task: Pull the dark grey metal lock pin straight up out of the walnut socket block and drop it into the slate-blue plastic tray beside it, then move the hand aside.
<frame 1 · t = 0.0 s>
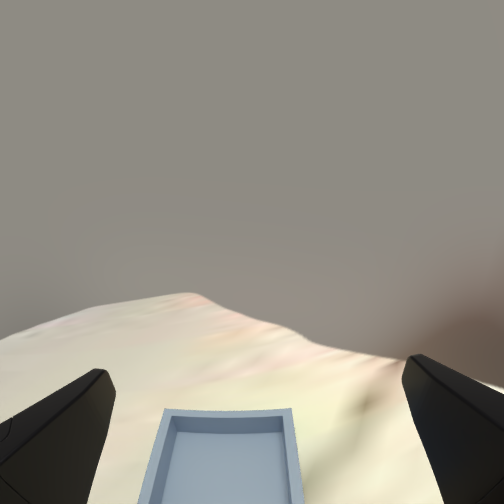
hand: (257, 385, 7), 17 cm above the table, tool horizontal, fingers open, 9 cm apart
tray: (226, 488, 17), on the table
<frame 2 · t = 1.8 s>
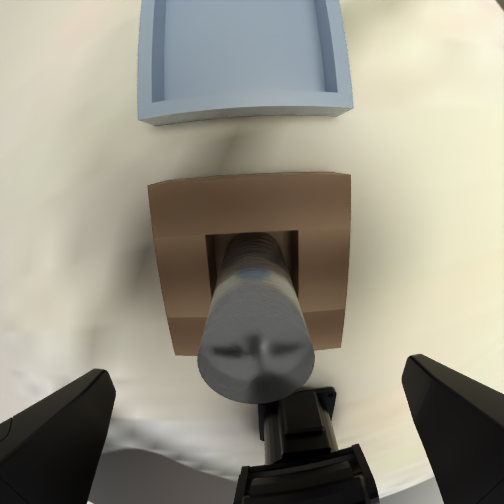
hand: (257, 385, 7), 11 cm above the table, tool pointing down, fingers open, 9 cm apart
socket block: (253, 255, 18), on the table
tray: (241, 24, 14), on the table
lock pin: (253, 258, 18), point 1 cm above the table, touching socket block
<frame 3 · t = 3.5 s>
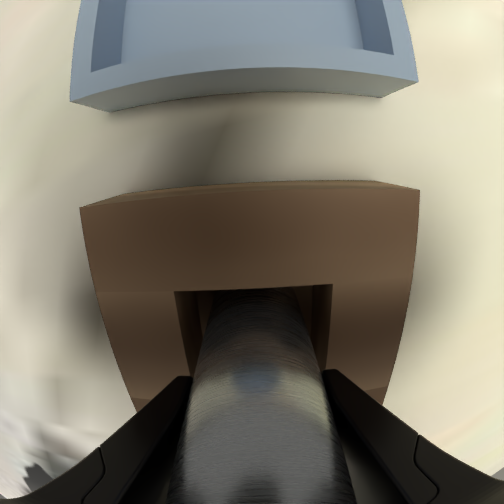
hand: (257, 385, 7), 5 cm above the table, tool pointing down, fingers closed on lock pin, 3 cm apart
socket block: (255, 304, 12), on the table
lock pin: (255, 310, 12), point 1 cm above the table, touching gripper, socket block
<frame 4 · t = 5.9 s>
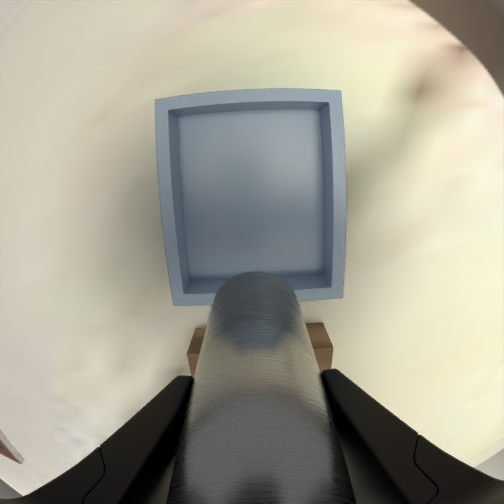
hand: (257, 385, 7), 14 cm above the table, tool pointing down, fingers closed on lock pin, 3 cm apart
socket block: (261, 375, 24), on the table
tray: (253, 194, 19), on the table
lock pin: (255, 311, 12), point 9 cm above the table, touching gripper
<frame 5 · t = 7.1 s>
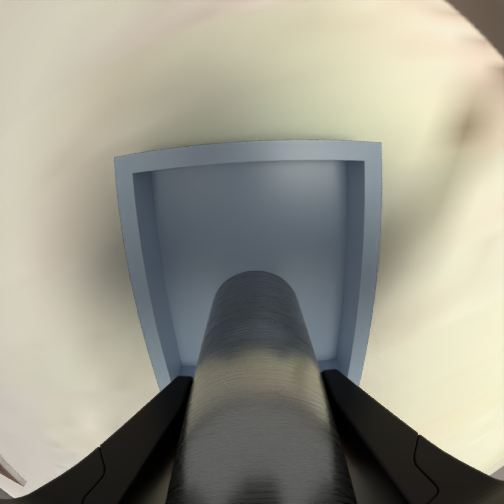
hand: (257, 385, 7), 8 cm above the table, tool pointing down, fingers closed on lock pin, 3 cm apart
tray: (254, 273, 15), on the table
lock pin: (255, 311, 12), point 4 cm above the table, touching gripper
when the fingers open (6 cm above the table, at t = 8.1 s): lock pin drops 1 cm, resting on tray.
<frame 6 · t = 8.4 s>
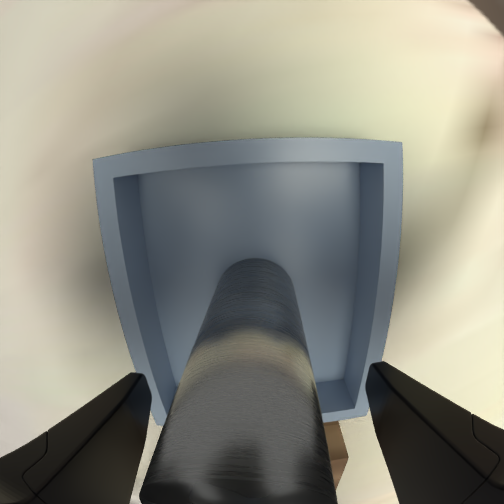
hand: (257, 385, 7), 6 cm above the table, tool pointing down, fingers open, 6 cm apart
socket block: (264, 461, 18), on the table
tray: (254, 289, 14), on the table
lock pin: (255, 295, 13), point 1 cm above the table, touching tray
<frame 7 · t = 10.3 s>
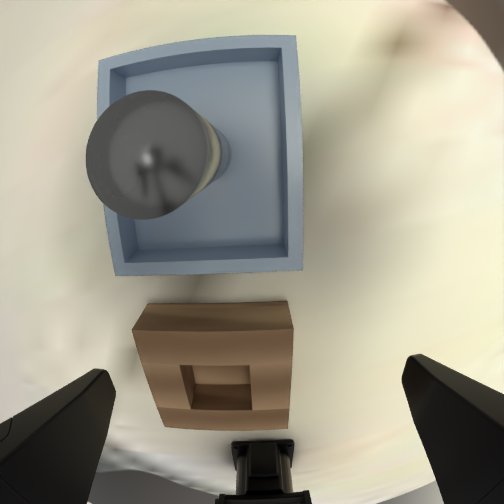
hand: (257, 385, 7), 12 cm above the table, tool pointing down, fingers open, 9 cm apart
socket block: (221, 358, 22), on the table
tray: (203, 154, 17), on the table
lock pin: (201, 154, 16), point 1 cm above the table, touching tray
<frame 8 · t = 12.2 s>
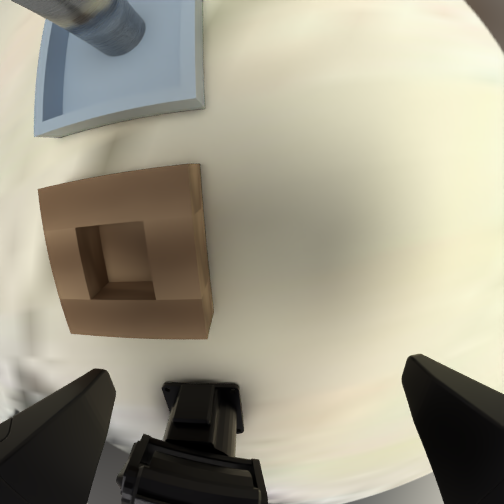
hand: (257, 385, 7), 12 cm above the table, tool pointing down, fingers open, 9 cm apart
socket block: (134, 246, 19), on the table
tray: (124, 37, 14), on the table
lock pin: (121, 34, 14), point 1 cm above the table, touching tray
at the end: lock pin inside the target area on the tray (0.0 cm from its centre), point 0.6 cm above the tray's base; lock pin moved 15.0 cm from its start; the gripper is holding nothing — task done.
